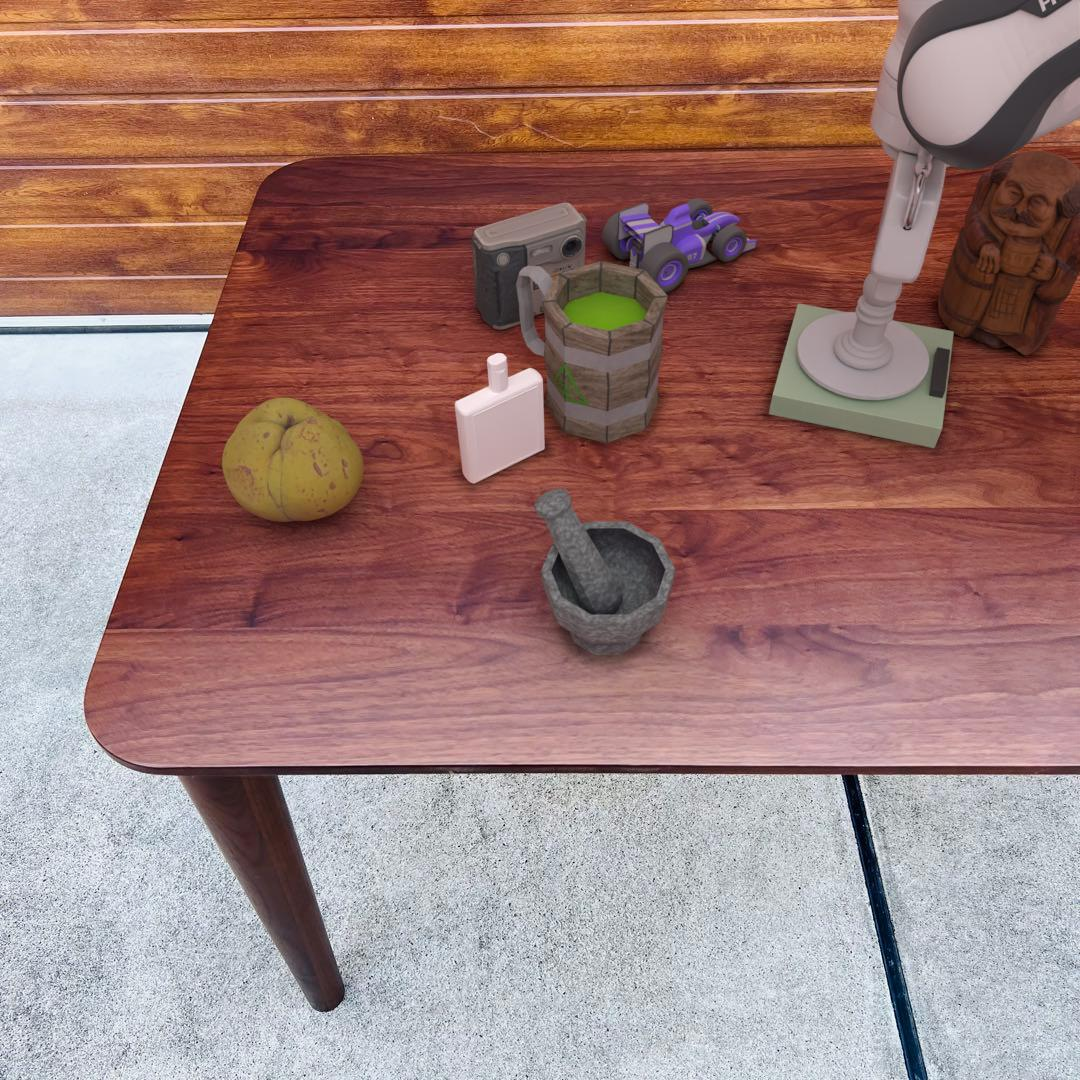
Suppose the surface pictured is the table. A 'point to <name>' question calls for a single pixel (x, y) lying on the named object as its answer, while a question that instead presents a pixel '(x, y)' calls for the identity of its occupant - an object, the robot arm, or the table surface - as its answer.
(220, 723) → the table surface
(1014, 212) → the wooden figurine
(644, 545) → the mortar and pestle
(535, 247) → the camera
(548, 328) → the mug
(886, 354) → the chess piece
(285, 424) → the fruit
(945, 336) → the scale
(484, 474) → the perfume bottle
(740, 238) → the toy race car
